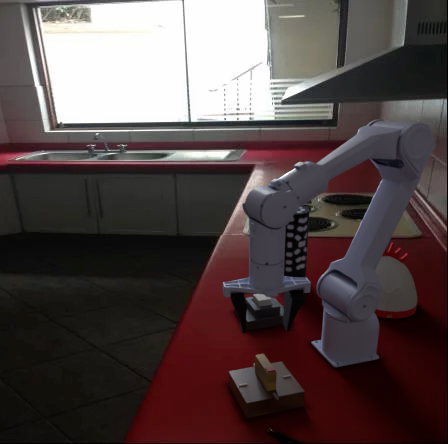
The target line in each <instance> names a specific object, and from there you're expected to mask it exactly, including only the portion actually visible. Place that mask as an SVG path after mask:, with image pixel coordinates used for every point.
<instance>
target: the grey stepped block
mask: <svg viewBox="0 0 448 444" xmlns="http://www.w3.org/2000/svg"><path fill="white" fill-rule="evenodd" d="M270 298H271V305H268V306H262V307H258V306H257V305H256V304H255V303H254V302H253V296H248V297H246V302H247V313H246V325H247V331H253V330H259V329H265V328H270V327H276V326H284V325H283V314H284V305H282V303H280V302H279V301H278V300H277V298H276V297H270ZM233 308H234V307H233ZM233 311H234V314H235V315H236V316H237V318H238V319H239V316H238V314H237V312H236V310H235V308H234V309H233Z"/></svg>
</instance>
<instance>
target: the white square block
mask: <svg viewBox="0 0 448 444" xmlns="http://www.w3.org/2000/svg"><path fill="white" fill-rule="evenodd" d="M252 297H253V302H254V303H255V304H256V305H257V306H258V307H262V306H268V305H271V298H270V297H266V296H265V295H263V294H252Z"/></svg>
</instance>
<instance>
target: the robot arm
mask: <svg viewBox="0 0 448 444" xmlns="http://www.w3.org/2000/svg"><path fill="white" fill-rule="evenodd" d="M435 148H436V141H435V137H434V134H433V131H432V129H431V127H430V126H429V125H428V124H427V123H424V122H405V121H392V120H384V119H379V118H378V119H374V120H371V121H370V122H368V123H367V125H364V126H361V127H359V128H358V130H357V133H356V134H355V135H354V136H353V137H351V138H349V139H348V140H347V141H346V142H344V143H343V144H341V145H340V146H339V147H337V148H336V149H334V150H333V151H331V152H330V153H328V154H327V155H326V156H325V157H323V158H321V159H320V160H319V161H317V162H316V163H315V162H313V161H304V162H303V161H299V162H297V163H295V164H294V165H293V167H294V168H293V169H292V170H290V171H288V172H287V173H285V174H283V175H282V176H280V177H279V178H273V179H272V180H270V182H269V184H268V185H259V186H256V187H254V188H252V189H251V190H250V191H249V192H248V194H247V196H246V197H245V201H244V202H243V203H242V204H241V205H242V210H243V212H244V214H245V215H246V216H247V218H248V226H249V229H248V230H249V231H248V232H249V234H248V238H249V239H248V240H249V241H248V246H249V247H248V255H249V256H248V277H244V278H240V279H235V280H231V281H230V280H229V281H222V294H223V297H224V298H230V301H231V305H232V306H233V308H235V310H236V312H237V314H238V316H239V318H238V320H239V325H240V326H239V327H240V330H241V333H242V334H247V332H248V330H247V325H246V313H247V302H246V298H247V297H246V296H245V295H254V294H263V295H265V296H266V297H272V298H277V297H278V296H279V294H282V293H283V307H284V314H283V325H282V326H283V327H284V330H285V331H286V332H291V330H292V328H293V327H292V326H293V323H294V321H295V318H296V317H297V315H298V313H299V311H300V310H301V309H302V307H303V306H304V305H305V303H306V295H305V294H309V293H311V285H312V282H311V280H309V278H308V277H306V278H297V277H286V276H284V257H285V230H286V225H287V224H288V223H289V222H290V221H291V219H292V217H293V215H294V213H295V212H296V211H297V210H298V208H299V207H301V206H305V205H306V204H308V203H309V202H311V201H312V200H313V199H316V198H317V197H319V196H320V195H322V194H323V193H324V192H326V191H327V189H328V187H329V181H330V180H332V179H334V178H335V177H338V176H339V175H342V174H344V173H345V172H347V171H349V170H350V169H352V168H354V167H356V166H358V165H360V164H362V163H363V162H365V161H367V160H370V161H371V163H372V164H373V165H374V166H375V168H376V169H377V170H378V172H379V174H380V176H381V177H380V178H381V181H380V182H379V185H378V187H377V188H376V191H375V193H374V195H373V197H372V198H371V202H370V204H369V206H368V208H367V210H366V212H365V213H364V216H363V218H362V220H361V222H360V224H359V227H358V229H357V231H356V232H355V235H354V237H353V239H352V241H351V243H350V245H349V248H348V249H347V251H346V254H345V256H344V257H343V258H341V259H337V260H335V261H331V262H330V264H329V267H328V268H327V270H326V271H325V272H324V273H323V274H322V275H320V277H319V279H318V281H317V283H316V289H315V290H316V294H317V296H318V297H319V298H320V299H321V306H322V307H323V313H322V325H321V338H320V339H318V340H313V341H311V345H312V346H313V347H314V348H315V350H317V351H318V352H319V353H320V355H321V356H322V357H323V358H324V359H325V360H326V361H327V362H328V363H329V364H330V365H331V366H332V367H333V368H340V367H345V366H349V365H351V366H352V365H357V364H361V363H365V362H371V361H376V360H379V359H380V356H379V355H378V354H377V350H378V343H379V335H380V322H379V318H378V316H376V314H375V313H374V311H375V310H376V307H377V304H378V296H379V293H380V291H381V289H382V285H381V283H380V281H379V279H378V277H377V275H376V272H375V269H376V267H377V265H378V263H379V261H380V259H381V257H382V255H383V253H384V251H385V249H386V250H387V247H388V245H389V243H390V242H391V239H392V237H393V235H394V234H395V231H396V229H397V227H398V226H399V223H400V221H401V219H402V217H403V215H404V213H405V211H406V209H407V206H408V205H409V203H410V201H411V199H412V197H413V194H414V193H415V191H416V189H417V188H418V185H419V183H420V180H421V178H422V174H423V172H424V170H425V168H426V167H427V164H428V162H429V161H430V158H431V156H432V154H433V152H434V150H435ZM354 280H355V281H354ZM238 316H237V317H238Z"/></svg>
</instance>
